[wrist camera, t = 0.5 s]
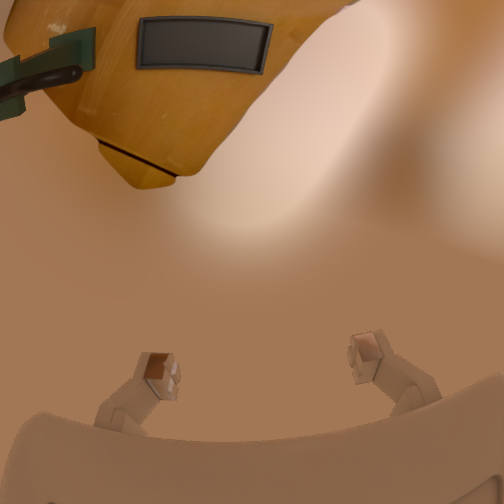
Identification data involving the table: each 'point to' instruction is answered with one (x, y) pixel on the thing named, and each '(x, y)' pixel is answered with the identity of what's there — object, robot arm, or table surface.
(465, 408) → the robot arm
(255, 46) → the tray
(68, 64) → the stand
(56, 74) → the scoop
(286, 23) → the table surface
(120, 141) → the table surface
